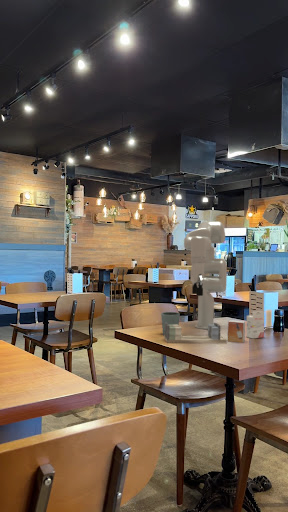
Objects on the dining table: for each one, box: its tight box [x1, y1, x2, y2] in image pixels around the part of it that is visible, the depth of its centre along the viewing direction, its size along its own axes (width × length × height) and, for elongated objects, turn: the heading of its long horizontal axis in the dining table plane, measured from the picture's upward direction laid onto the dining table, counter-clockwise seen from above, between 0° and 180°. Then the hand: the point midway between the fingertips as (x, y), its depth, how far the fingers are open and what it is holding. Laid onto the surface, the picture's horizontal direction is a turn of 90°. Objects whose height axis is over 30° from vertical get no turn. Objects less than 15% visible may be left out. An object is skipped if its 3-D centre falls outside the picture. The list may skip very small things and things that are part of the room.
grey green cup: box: [160, 311, 181, 336], centre depth 232 cm, size 10×10×12 cm
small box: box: [227, 319, 246, 344], centre depth 219 cm, size 8×6×10 cm
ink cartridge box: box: [246, 310, 265, 339], centre depth 231 cm, size 9×5×15 cm, turn 117°
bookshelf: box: [163, 322, 228, 345], centre depth 216 cm, size 11×30×9 cm, turn 96°
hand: (197, 294), depth 216 cm, fingers open, 8 cm apart
